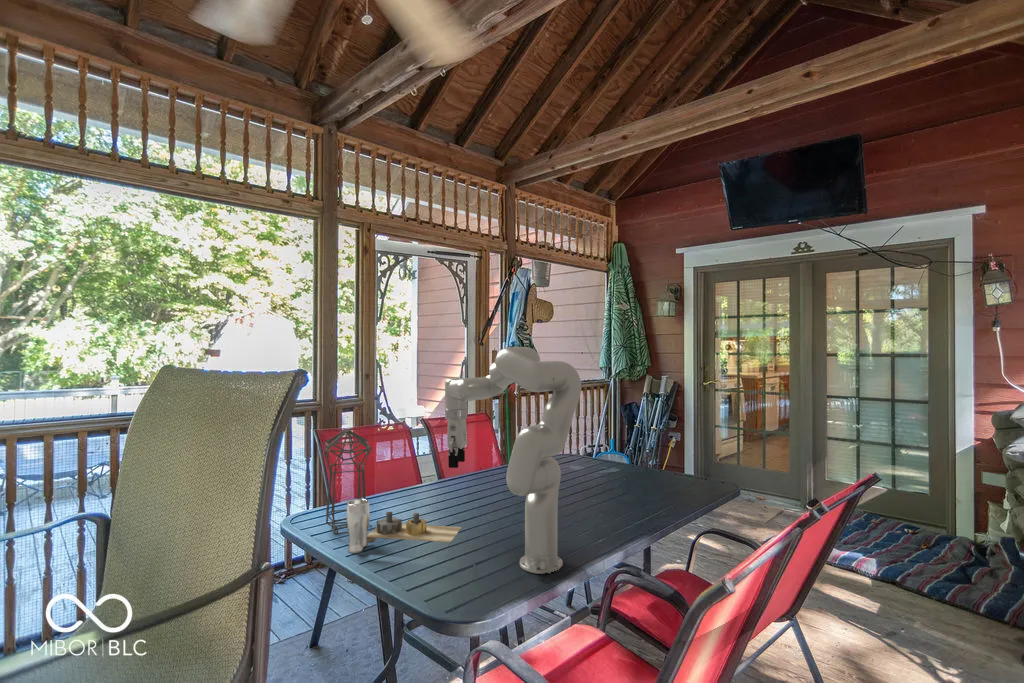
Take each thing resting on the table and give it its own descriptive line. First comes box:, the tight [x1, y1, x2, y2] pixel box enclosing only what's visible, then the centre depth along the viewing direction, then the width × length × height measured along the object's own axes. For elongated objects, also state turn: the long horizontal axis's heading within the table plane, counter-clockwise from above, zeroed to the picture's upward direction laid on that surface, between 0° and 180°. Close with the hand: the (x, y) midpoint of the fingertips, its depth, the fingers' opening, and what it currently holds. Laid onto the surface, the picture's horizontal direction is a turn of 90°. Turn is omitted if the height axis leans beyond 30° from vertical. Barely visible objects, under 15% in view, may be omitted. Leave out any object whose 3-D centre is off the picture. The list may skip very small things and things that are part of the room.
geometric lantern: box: [322, 429, 373, 535], centre depth 180 cm, size 16×16×35 cm
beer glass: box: [346, 498, 371, 554], centre depth 162 cm, size 7×7×15 cm
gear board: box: [367, 511, 462, 543], centre depth 174 cm, size 14×29×8 cm, turn 81°
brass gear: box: [405, 518, 427, 536], centre depth 174 cm, size 7×7×4 cm
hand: (456, 464), depth 176 cm, fingers open, 9 cm apart
